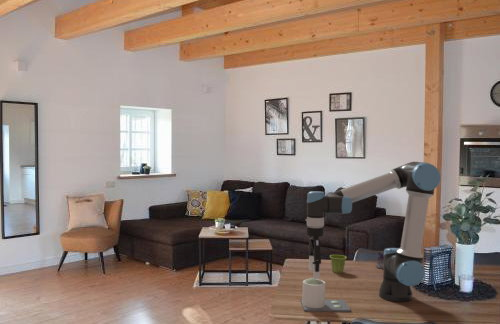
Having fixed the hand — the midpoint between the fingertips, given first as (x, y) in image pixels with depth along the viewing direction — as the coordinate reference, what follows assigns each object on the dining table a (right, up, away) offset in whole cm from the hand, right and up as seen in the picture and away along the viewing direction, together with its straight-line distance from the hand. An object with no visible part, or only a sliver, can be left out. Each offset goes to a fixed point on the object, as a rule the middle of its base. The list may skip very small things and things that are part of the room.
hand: (314, 274), depth 206 cm
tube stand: (+5, -14, +1) cm, 15 cm away
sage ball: (-1, -5, 0) cm, 5 cm away
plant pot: (+21, -13, +57) cm, 62 cm away
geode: (+55, -13, +70) cm, 90 cm away
